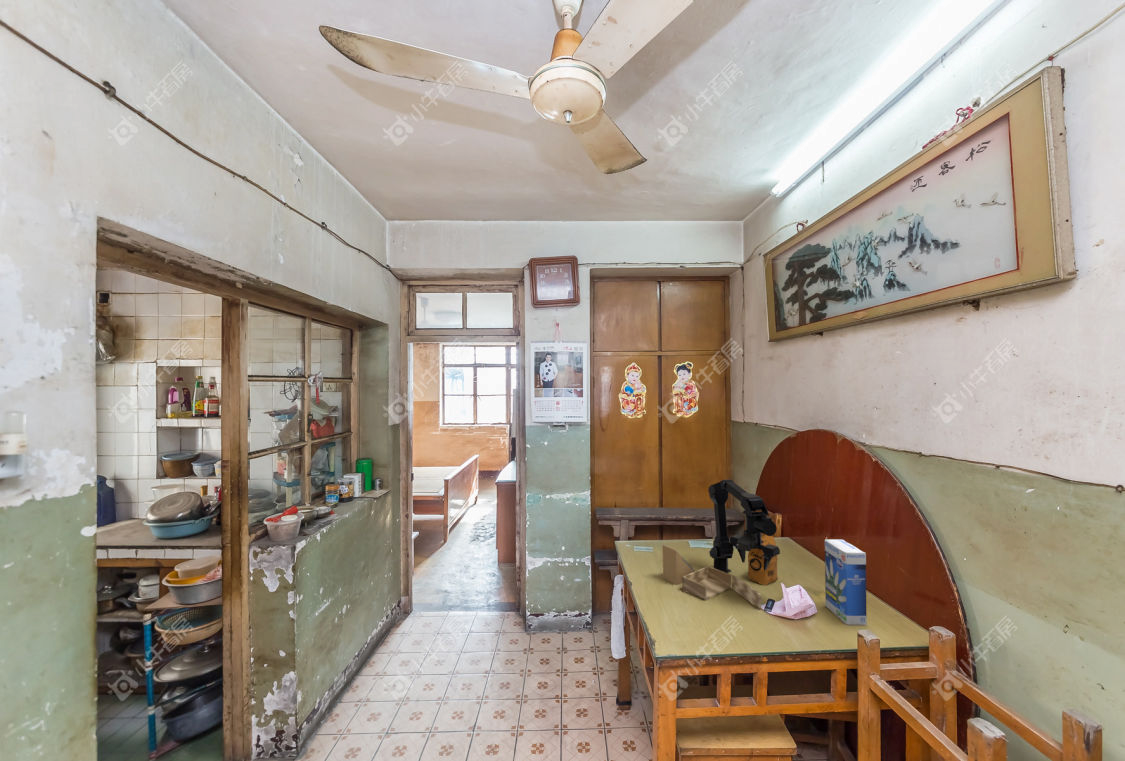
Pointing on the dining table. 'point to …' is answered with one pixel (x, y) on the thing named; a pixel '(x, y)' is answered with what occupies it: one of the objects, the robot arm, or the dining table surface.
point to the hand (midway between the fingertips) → (754, 566)
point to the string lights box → (845, 581)
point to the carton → (706, 582)
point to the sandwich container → (674, 566)
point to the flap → (746, 591)
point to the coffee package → (762, 564)
